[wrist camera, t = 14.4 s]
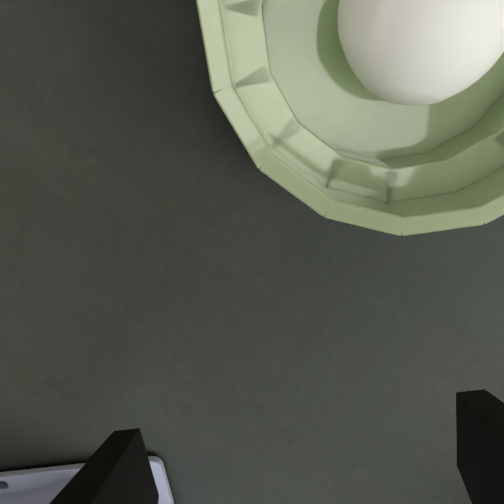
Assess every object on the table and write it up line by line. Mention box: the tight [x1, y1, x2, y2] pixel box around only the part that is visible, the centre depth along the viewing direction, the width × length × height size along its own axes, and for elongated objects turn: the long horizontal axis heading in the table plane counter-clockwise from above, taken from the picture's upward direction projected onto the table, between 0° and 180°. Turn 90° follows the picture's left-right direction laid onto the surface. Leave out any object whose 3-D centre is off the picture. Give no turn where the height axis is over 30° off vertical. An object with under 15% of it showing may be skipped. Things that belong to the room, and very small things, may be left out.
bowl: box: [196, 0, 504, 236], centre depth 14 cm, size 12×12×4 cm
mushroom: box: [338, 0, 504, 105], centre depth 13 cm, size 5×5×5 cm
